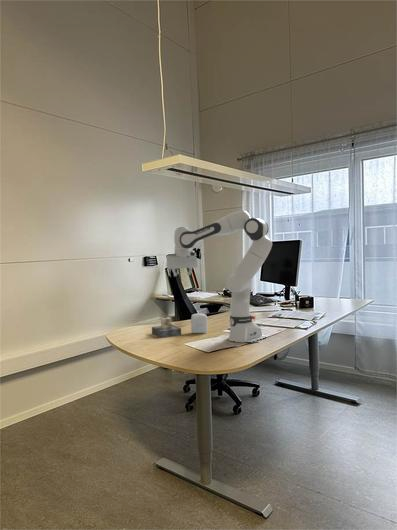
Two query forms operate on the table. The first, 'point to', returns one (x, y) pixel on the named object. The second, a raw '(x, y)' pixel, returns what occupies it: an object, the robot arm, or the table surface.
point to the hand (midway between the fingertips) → (182, 275)
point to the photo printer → (199, 323)
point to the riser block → (166, 331)
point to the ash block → (166, 323)
